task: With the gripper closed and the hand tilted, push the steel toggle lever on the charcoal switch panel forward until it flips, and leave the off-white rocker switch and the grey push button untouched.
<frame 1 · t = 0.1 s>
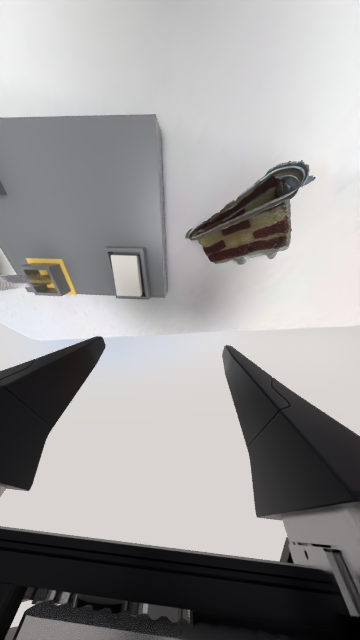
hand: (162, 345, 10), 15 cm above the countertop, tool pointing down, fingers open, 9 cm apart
switch panel: (85, 229, 19), on the countertop
toggle lever: (9, 282, 15), point 9 cm above the countertop, hinge at -18.0°
rocker switch: (127, 276, 19), point 4 cm above the countertop, hinge at -10.0°
chocolate cake: (237, 233, 19), on the countertop
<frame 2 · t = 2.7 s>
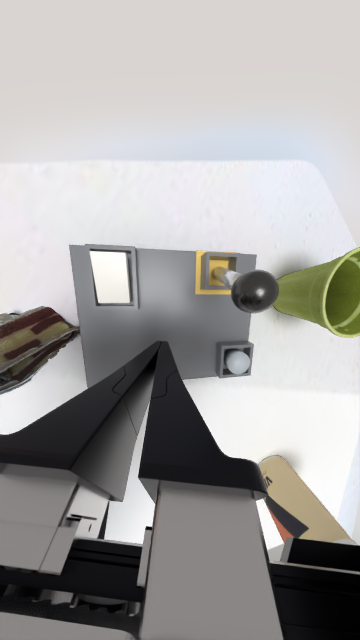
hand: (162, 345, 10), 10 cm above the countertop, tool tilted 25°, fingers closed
coffee cup: (269, 468, 30), on the countertop
switch panel: (170, 317, 21), on the countertop
plant pot: (285, 293, 23), on the countertop
toggle lever: (232, 280, 12), point 9 cm above the countertop, hinge at -18.0°
push button: (237, 361, 19), point 4 cm above the countertop, slide at 0.0 cm
rocker switch: (112, 278, 15), point 4 cm above the countertop, hinge at -10.0°
chocolate cake: (34, 336, 19), on the countertop
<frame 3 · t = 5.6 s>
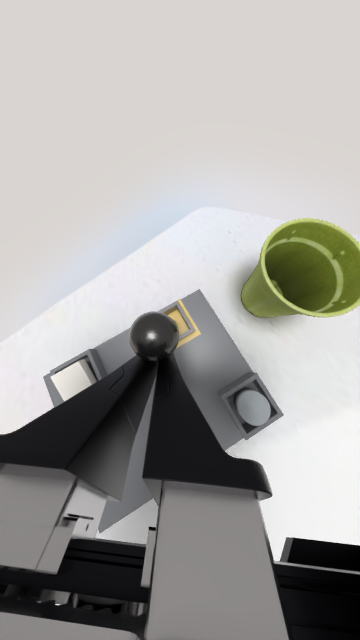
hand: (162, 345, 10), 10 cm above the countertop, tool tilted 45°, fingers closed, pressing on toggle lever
switch panel: (160, 388, 19), on the countertop
plant pot: (261, 298, 21), on the countertop
toggle lever: (165, 329, 12), point 9 cm above the countertop, hinge at -12.1°, touching gripper
push button: (252, 406, 14), point 4 cm above the countertop, slide at 0.0 cm
rocker switch: (79, 387, 15), point 4 cm above the countertop, hinge at -10.0°
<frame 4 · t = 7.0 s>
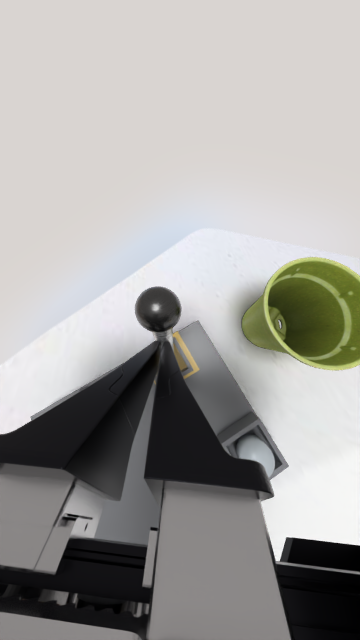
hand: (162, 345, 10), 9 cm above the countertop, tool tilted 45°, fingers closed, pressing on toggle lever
switch panel: (156, 425, 18), on the countertop
plant pot: (262, 326, 20), on the countertop
toggle lever: (164, 340, 11), point 8 cm above the countertop, hinge at 23.1°, touching gripper
push button: (254, 455, 13), point 4 cm above the countertop, slide at 0.0 cm
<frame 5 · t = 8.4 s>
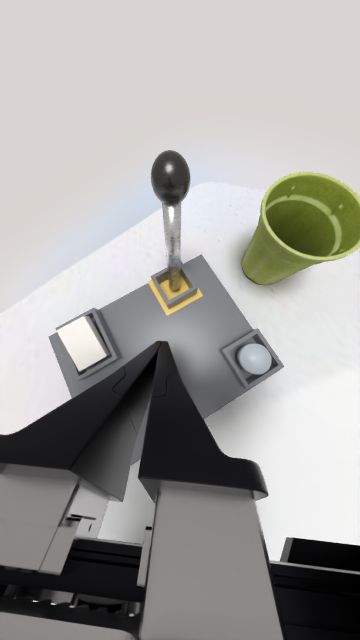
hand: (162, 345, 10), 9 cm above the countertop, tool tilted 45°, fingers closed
switch panel: (162, 351, 19), on the countertop
plant pot: (261, 267, 21), on the countertop
toggle lever: (173, 241, 13), point 8 cm above the countertop, hinge at 23.0°
push button: (253, 358, 15), point 4 cm above the countertop, slide at 0.0 cm
rocker switch: (84, 342, 16), point 4 cm above the countertop, hinge at -10.0°
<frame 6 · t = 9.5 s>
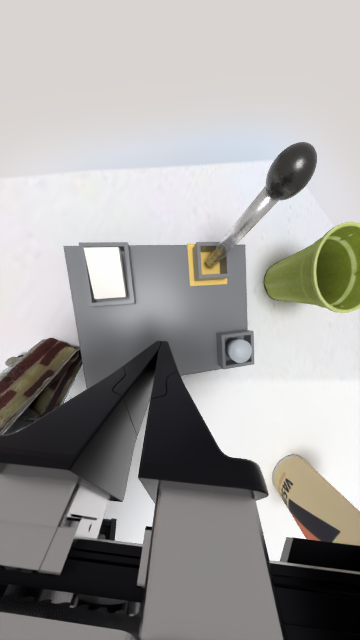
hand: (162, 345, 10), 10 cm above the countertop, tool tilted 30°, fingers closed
coffee cup: (287, 471, 28), on the countertop
switch panel: (168, 313, 21), on the countertop
plant pot: (278, 282, 24), on the countertop
toggle lever: (242, 226, 13), point 8 cm above the countertop, hinge at 23.0°
push button: (238, 350, 19), point 4 cm above the countertop, slide at 0.0 cm
rocker switch: (107, 274, 15), point 4 cm above the countertop, hinge at -10.0°
chocolate cake: (47, 370, 19), on the countertop, touching switch panel
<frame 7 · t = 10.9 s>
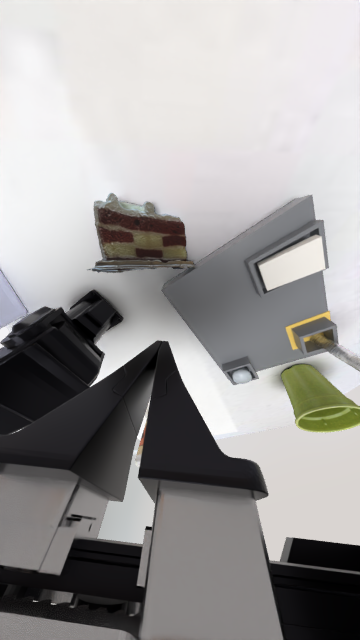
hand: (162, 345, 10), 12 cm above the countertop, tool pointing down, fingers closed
switch panel: (248, 313, 22), on the countertop
plant pot: (296, 372, 30), on the countertop
push button: (241, 375, 25), point 4 cm above the countertop, slide at 0.0 cm
rocker switch: (288, 265, 14), point 4 cm above the countertop, hinge at -10.0°
chocolate cake: (149, 238, 18), on the countertop
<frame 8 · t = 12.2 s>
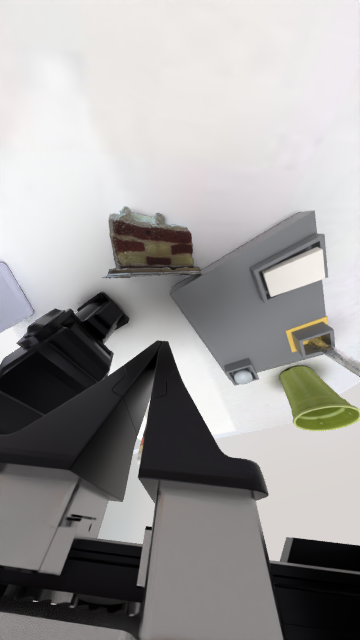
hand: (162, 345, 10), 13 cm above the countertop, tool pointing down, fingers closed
soap bottle: (7, 288, 24), on the countertop
switch panel: (251, 317, 23), on the countertop
plant pot: (294, 373, 31), on the countertop
toggle lever: (359, 369, 17), point 8 cm above the countertop, hinge at 23.0°
push button: (242, 376, 26), point 4 cm above the countertop, slide at 0.0 cm
rocker switch: (291, 274, 16), point 4 cm above the countertop, hinge at -10.0°
chocolate cake: (157, 246, 19), on the countertop
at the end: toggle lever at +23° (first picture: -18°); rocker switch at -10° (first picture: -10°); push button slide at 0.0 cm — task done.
